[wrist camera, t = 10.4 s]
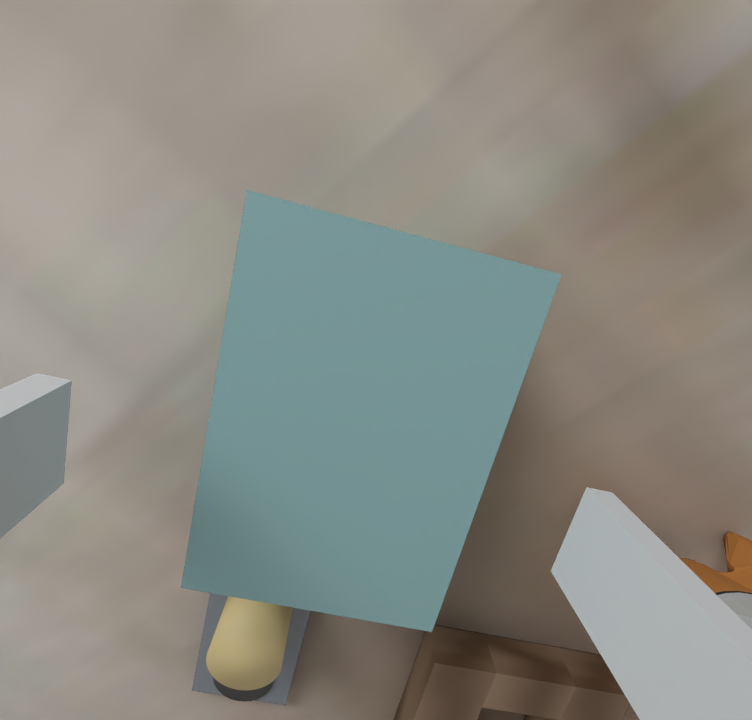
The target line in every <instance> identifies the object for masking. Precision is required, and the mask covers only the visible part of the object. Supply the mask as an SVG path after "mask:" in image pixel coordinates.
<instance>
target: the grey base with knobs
mask: <svg viewBox="0 0 752 720" xmlns="http://www.w3.org/2000/svg"><path fill="white" fill-rule="evenodd" d="M309 615H310V610H304V609H298V608H293V607H287V606H281V605H276V604H270V603H264V602H259V601H253V600H247V599H242V598H236V597H230V596H225V595H219V594H213V593H210V598H209V603H208V608H207V614H206V619H205V624H204V629H203V635H202V640H201V645H200V651H199V656H198V661H197V666H196V672H195V677H194V682H193V687H192V691H198V692H204V693H210V694H217V695H223V696H226V697H228V698H230V699H233V700H237V701H252V700H255V701H262V702H268V703H275V704H281V705H285V704H286V701H287V697H288V693H289V690H290V686H291V682H292V678H293V675H294V671H295V667H296V663H297V660H298V656H299V652H300V648H301V645H302V641H303V637H304V633H305V630H306V626H307V622H308V619H309Z"/></svg>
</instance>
